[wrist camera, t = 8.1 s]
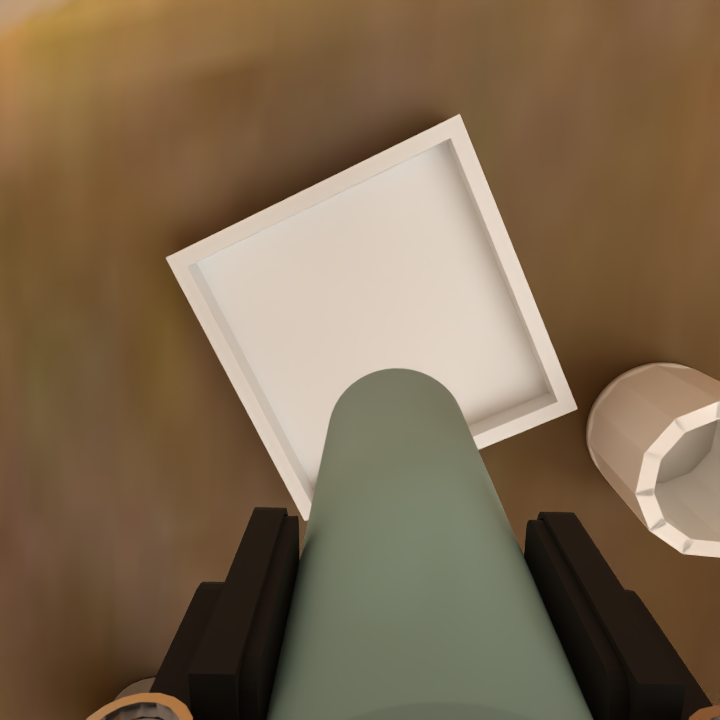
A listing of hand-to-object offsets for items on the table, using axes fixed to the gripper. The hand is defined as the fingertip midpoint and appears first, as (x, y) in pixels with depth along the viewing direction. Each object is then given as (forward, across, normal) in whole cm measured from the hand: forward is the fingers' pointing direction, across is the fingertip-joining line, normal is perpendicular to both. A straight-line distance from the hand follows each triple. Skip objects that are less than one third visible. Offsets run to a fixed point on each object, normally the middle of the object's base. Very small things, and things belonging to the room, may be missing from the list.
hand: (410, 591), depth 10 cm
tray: (+24, +1, 0) cm, 24 cm away
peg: (+7, 0, 0) cm, 7 cm away
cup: (+24, -15, +6) cm, 29 cm away
